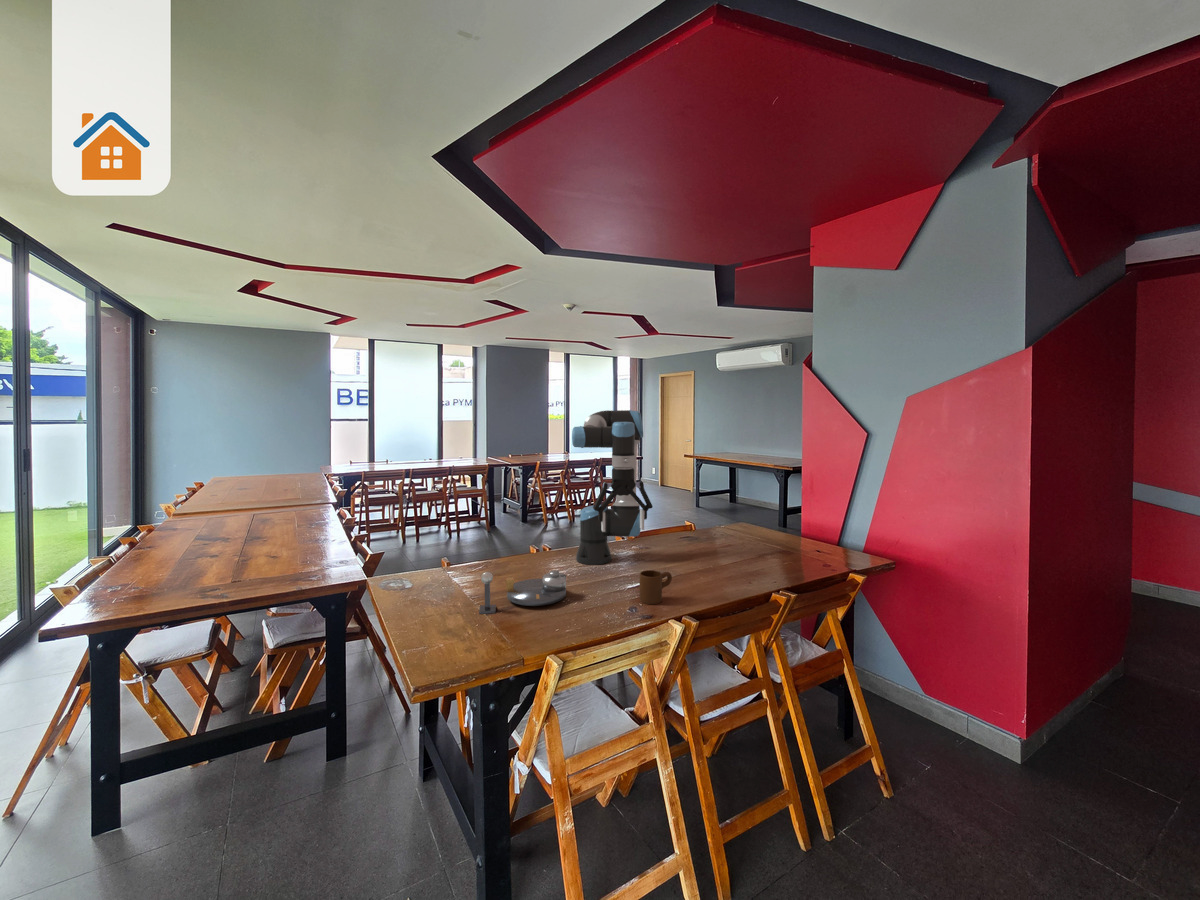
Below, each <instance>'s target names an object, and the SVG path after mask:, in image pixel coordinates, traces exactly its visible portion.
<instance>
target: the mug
mask: <svg viewBox="0 0 1200 900" xmlns="http://www.w3.org/2000/svg"><path fill="white" fill-rule="evenodd" d="M664 578H666V580H665V581H663V579H664ZM672 578H673V577H672V574H671V572H669V571H664V572H662V573H661V572H660V571H658V570H651V569H650V570H649V569H648V570H642V571H641V572H640V573H639V584H638V585H639V586H638V587H639V601H640V602H641V603H642V604H644V605H658V604H660V603H661V602H662V600H663V589H664V588H666V587H668V586H669V585H670V584H671V583H672V580H673V579H672Z"/></svg>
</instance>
